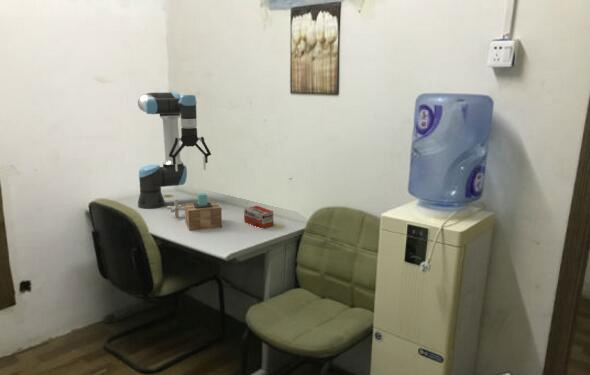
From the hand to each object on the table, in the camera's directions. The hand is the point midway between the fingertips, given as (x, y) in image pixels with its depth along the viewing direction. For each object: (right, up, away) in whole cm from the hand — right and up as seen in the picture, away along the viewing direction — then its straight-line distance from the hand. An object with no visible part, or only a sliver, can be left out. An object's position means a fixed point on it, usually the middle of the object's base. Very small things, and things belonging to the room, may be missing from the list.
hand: (190, 170), depth 225 cm
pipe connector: (-11, -25, +17) cm, 32 cm away
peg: (+5, -20, +3) cm, 21 cm away
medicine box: (+33, -28, +7) cm, 44 cm away
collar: (+5, -18, +2) cm, 19 cm away
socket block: (+5, -27, +5) cm, 28 cm away
